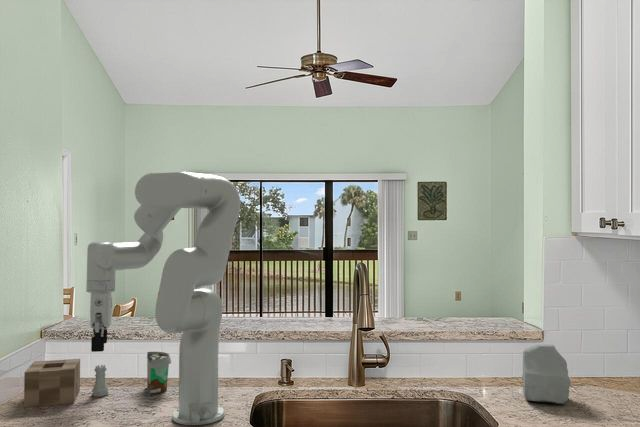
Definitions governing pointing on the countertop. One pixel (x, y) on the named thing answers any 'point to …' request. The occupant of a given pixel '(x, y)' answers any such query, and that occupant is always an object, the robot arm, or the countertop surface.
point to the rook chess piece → (100, 382)
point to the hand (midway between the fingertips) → (99, 347)
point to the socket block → (52, 382)
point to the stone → (545, 374)
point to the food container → (157, 372)
